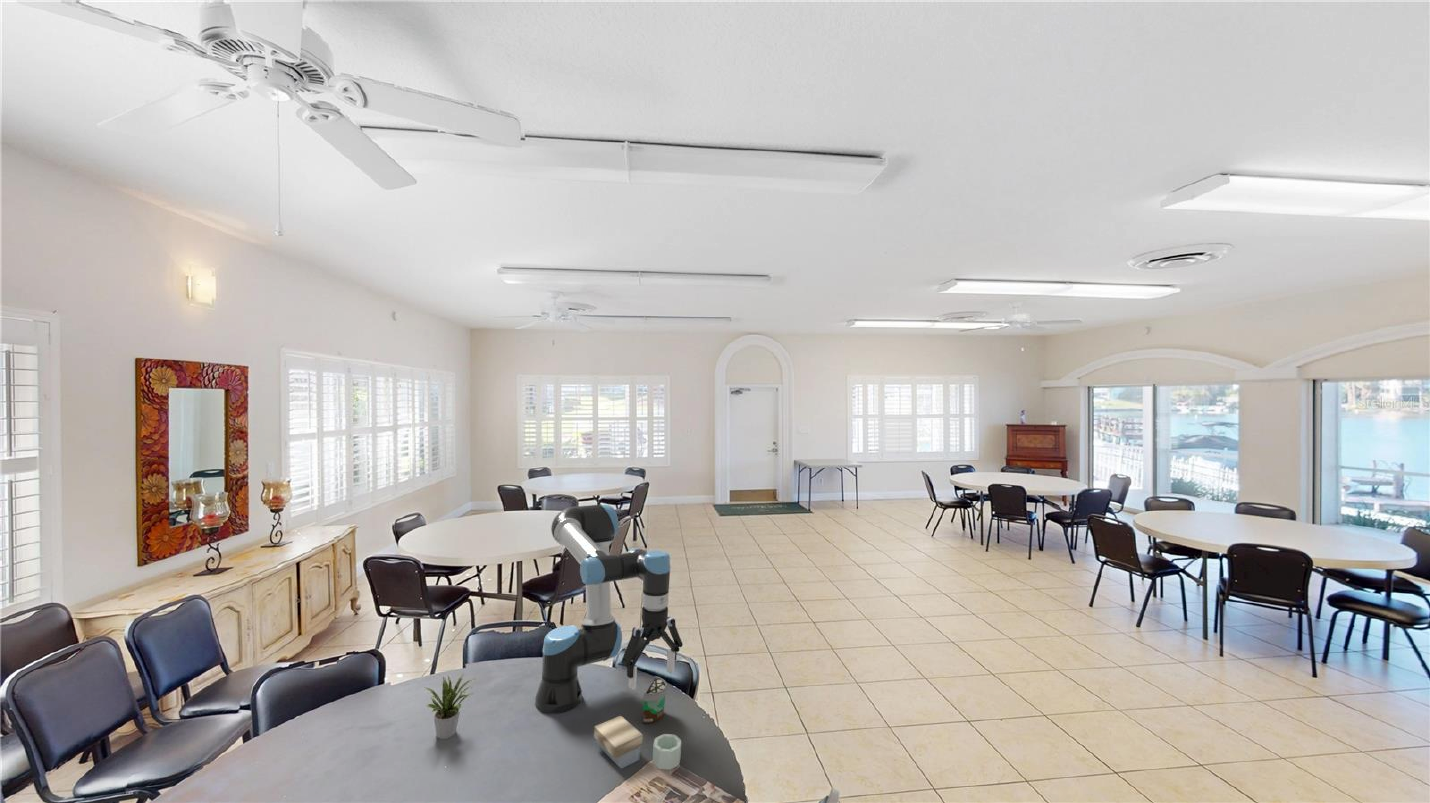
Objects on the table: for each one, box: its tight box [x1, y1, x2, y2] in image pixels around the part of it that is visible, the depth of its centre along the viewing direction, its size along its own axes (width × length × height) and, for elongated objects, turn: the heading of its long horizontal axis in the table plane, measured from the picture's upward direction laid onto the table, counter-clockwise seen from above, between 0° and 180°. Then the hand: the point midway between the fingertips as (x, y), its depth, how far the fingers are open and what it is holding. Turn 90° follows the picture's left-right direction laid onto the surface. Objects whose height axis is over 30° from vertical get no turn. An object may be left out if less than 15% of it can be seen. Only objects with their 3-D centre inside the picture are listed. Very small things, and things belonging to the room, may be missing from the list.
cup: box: [652, 733, 682, 771], centre depth 147 cm, size 8×8×5 cm
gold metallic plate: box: [593, 715, 644, 758], centre depth 150 cm, size 12×9×3 cm
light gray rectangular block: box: [595, 739, 641, 770], centre depth 150 cm, size 14×6×3 cm, turn 41°
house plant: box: [425, 673, 476, 740], centre depth 156 cm, size 14×14×16 cm
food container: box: [642, 675, 669, 725], centre depth 168 cm, size 12×6×10 cm, turn 168°
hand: (651, 680), depth 149 cm, fingers open, 13 cm apart
